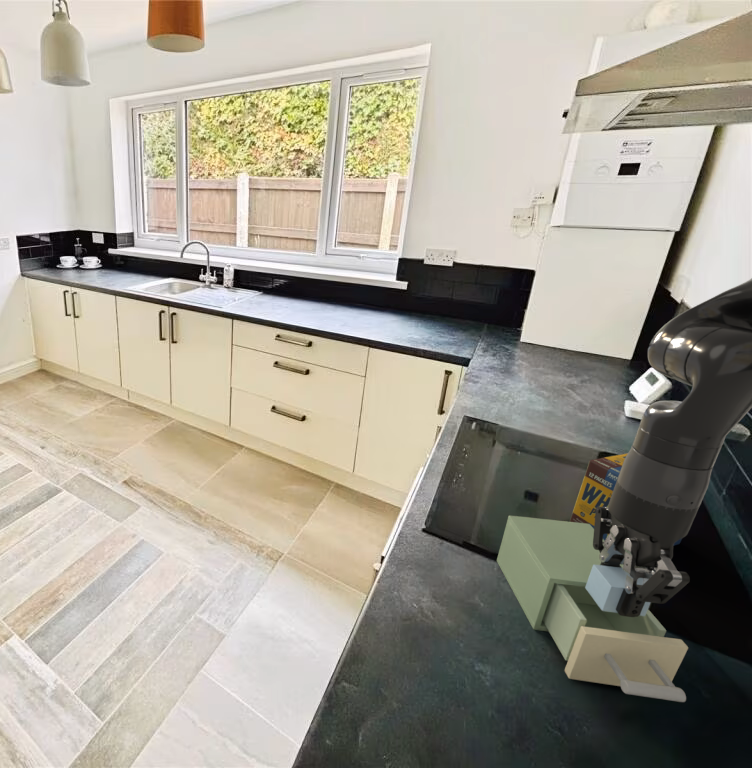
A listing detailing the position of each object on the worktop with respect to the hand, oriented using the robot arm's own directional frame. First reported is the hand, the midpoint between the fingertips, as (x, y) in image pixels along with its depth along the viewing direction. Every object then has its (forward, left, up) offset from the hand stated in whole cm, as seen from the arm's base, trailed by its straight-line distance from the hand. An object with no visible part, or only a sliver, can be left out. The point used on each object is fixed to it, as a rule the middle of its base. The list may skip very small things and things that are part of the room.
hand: (614, 599), depth 60 cm
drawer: (0, +1, -9) cm, 9 cm away
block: (0, 0, 0) cm, 0 cm away
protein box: (-20, -28, -10) cm, 36 cm away
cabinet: (0, -10, -10) cm, 14 cm away
